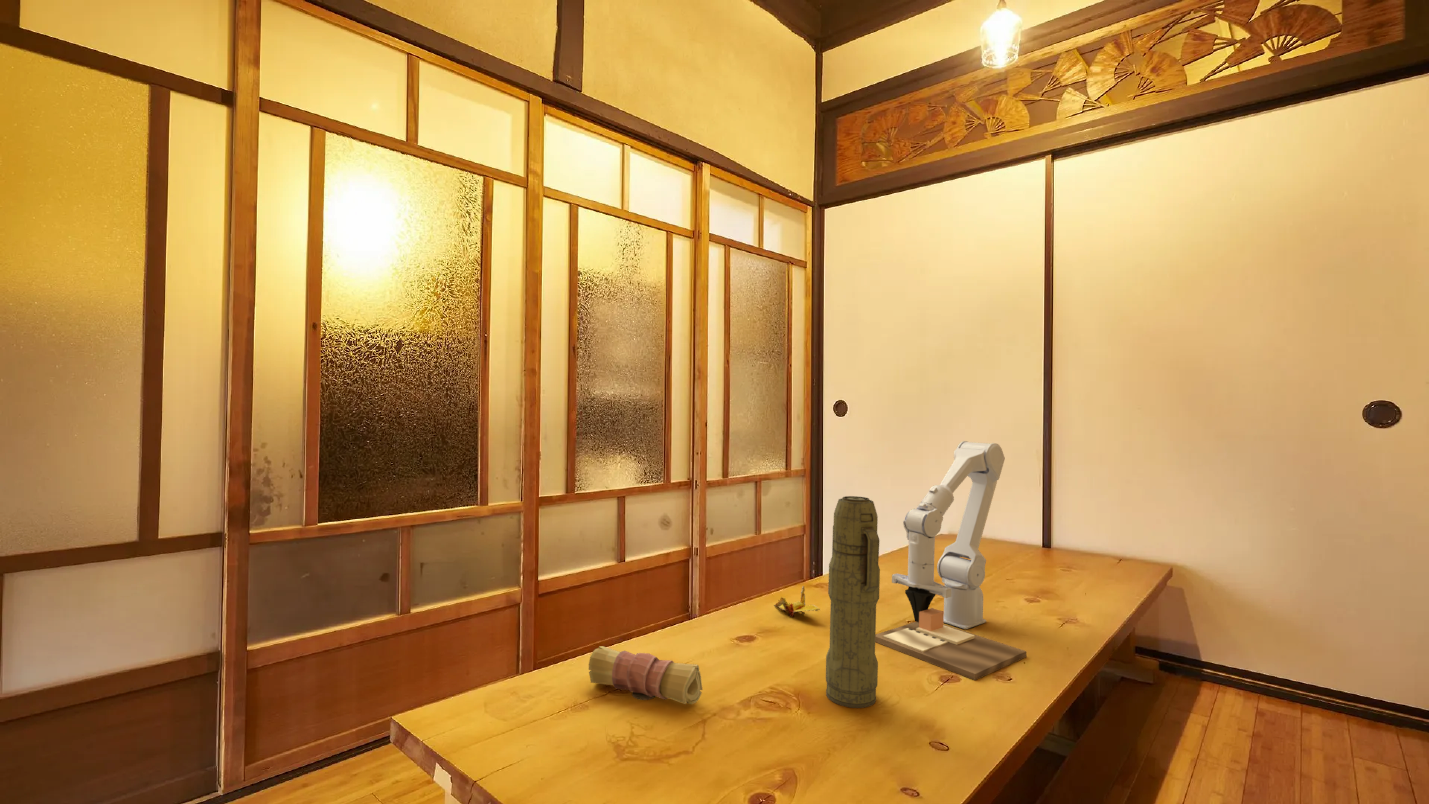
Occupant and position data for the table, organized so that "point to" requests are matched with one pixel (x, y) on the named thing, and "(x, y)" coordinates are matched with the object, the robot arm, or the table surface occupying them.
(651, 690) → the scroll
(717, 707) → the table surface
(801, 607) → the origami crane
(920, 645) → the board
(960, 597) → the robot arm
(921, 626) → the stub
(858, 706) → the thermos
